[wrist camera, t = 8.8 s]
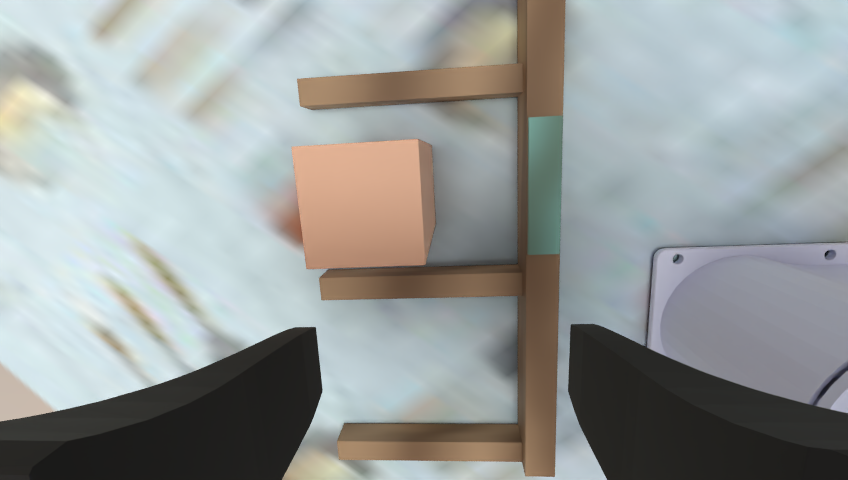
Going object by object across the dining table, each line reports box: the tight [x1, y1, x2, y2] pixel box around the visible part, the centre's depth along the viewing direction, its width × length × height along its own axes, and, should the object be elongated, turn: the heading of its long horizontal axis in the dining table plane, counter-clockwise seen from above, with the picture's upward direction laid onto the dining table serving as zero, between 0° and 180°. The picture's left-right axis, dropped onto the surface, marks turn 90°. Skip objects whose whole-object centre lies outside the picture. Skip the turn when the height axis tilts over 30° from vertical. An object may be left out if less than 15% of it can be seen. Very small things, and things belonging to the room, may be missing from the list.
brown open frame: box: [297, 0, 565, 477], centre depth 19 cm, size 12×30×3 cm, turn 3°
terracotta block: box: [292, 139, 436, 269], centre depth 16 cm, size 4×4×8 cm
